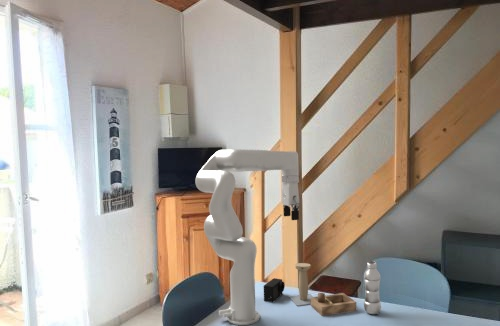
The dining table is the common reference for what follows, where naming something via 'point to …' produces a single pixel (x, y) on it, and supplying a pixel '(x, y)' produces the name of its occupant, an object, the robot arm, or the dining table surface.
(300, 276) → the handle
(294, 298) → the mat
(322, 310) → the body
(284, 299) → the dining table surface
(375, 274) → the plastic bottle
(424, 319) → the dining table surface
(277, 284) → the digital camera
